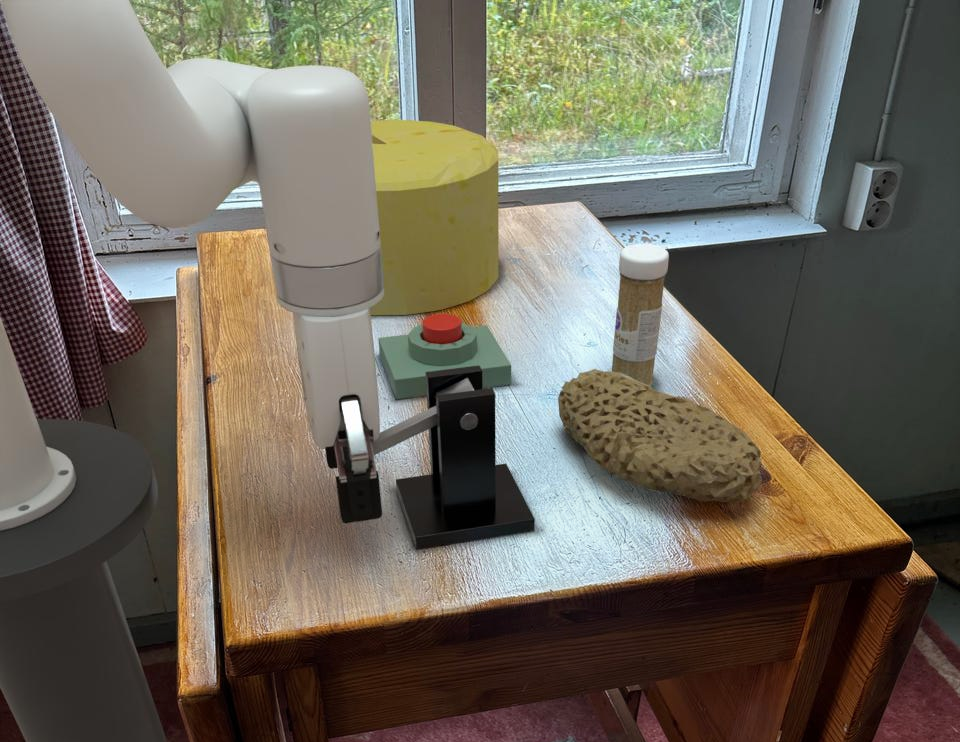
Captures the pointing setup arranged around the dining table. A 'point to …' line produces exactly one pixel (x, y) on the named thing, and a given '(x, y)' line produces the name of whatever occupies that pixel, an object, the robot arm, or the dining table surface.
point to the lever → (411, 423)
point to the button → (442, 329)
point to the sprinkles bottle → (639, 310)
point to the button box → (441, 359)
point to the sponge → (659, 438)
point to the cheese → (434, 215)
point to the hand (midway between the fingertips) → (353, 489)
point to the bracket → (462, 471)
